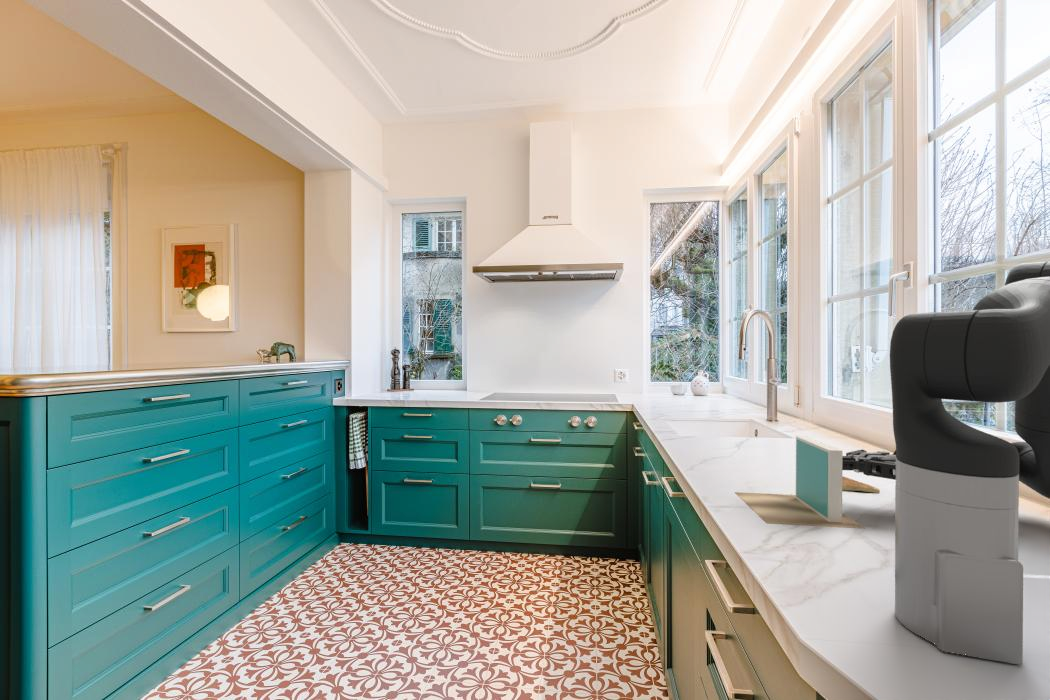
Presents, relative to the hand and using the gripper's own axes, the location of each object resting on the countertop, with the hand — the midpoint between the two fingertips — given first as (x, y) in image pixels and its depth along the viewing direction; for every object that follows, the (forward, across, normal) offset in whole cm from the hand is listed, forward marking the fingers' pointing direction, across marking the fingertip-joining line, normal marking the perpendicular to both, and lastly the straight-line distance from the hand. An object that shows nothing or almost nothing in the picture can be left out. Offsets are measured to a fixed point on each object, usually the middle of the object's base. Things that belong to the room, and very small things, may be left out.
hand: (828, 462), depth 80 cm
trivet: (+6, 0, +9) cm, 11 cm away
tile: (+2, 0, +9) cm, 9 cm away
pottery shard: (-12, -15, +10) cm, 21 cm away
